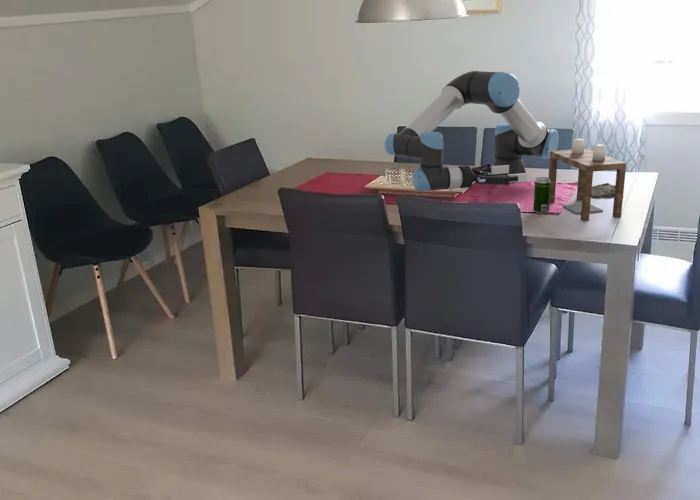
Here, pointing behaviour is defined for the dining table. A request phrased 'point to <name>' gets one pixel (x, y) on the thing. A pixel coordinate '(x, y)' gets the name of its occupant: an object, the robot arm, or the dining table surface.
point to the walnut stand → (588, 177)
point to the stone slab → (603, 191)
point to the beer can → (542, 195)
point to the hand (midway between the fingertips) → (517, 173)
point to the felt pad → (577, 208)
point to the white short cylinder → (578, 146)
